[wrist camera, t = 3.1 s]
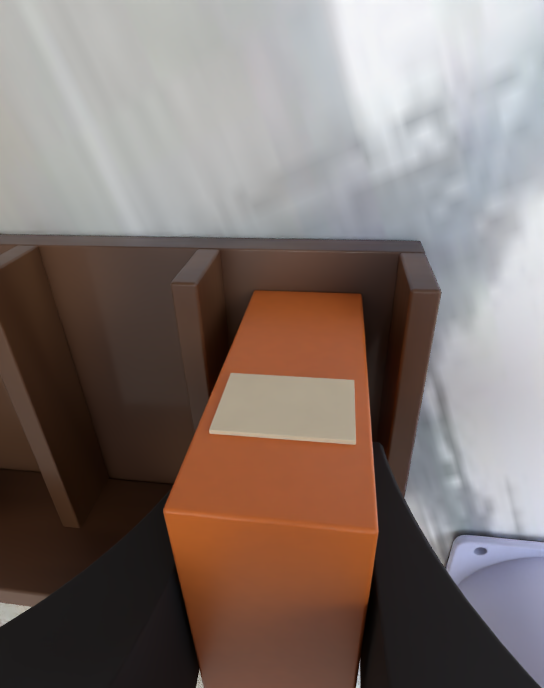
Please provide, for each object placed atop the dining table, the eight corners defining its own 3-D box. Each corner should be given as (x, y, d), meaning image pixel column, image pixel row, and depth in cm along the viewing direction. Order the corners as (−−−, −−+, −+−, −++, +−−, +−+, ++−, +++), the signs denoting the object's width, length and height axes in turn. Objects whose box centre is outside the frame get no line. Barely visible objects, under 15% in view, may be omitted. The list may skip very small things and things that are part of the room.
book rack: (420, 240, 13) (468, 349, 8) (383, 498, 19) (397, 657, 14) (-118, 232, 15) (-345, 312, 10) (-6, 463, 21) (-117, 587, 16)
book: (362, 289, 13) (380, 528, 6) (347, 475, 17) (348, 744, 10) (253, 286, 13) (160, 505, 7) (263, 467, 17) (210, 721, 11)
